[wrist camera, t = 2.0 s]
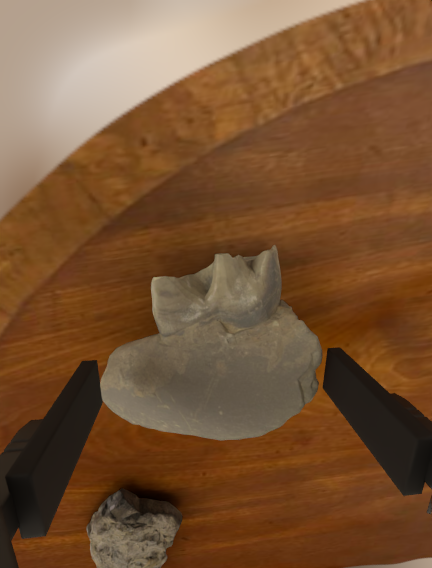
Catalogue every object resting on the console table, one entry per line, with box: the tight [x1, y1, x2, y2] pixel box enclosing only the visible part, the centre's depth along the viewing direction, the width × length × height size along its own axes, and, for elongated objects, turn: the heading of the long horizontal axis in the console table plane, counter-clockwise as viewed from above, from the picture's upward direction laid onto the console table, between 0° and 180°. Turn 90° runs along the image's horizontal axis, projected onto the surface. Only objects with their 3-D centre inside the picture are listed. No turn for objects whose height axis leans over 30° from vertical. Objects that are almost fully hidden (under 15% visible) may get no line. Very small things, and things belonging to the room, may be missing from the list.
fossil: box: [100, 245, 322, 440], centre depth 17 cm, size 14×10×10 cm
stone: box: [87, 488, 183, 568], centre depth 26 cm, size 14×8×3 cm, turn 162°
